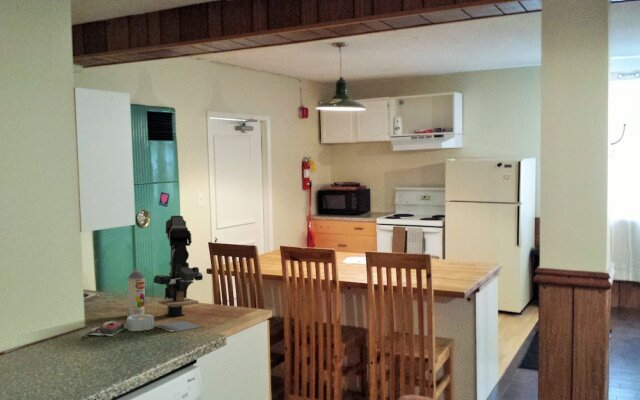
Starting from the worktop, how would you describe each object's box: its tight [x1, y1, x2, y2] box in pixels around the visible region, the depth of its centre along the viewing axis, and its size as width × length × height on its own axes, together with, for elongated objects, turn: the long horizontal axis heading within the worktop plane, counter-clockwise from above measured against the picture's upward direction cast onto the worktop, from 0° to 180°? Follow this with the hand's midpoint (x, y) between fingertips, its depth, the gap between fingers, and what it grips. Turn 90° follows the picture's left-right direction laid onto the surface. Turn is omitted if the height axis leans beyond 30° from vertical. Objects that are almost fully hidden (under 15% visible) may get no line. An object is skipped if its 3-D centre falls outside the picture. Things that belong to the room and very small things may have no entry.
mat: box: [154, 320, 203, 332], centre depth 221 cm, size 13×13×1 cm
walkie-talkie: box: [80, 320, 125, 340], centre depth 208 cm, size 9×4×20 cm
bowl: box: [126, 314, 155, 330], centre depth 217 cm, size 10×10×4 cm
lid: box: [157, 291, 199, 307], centre depth 221 cm, size 11×11×4 cm
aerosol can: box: [126, 268, 146, 318], centre depth 240 cm, size 7×7×20 cm
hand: (178, 299), depth 221 cm, fingers closed on lid, 3 cm apart
